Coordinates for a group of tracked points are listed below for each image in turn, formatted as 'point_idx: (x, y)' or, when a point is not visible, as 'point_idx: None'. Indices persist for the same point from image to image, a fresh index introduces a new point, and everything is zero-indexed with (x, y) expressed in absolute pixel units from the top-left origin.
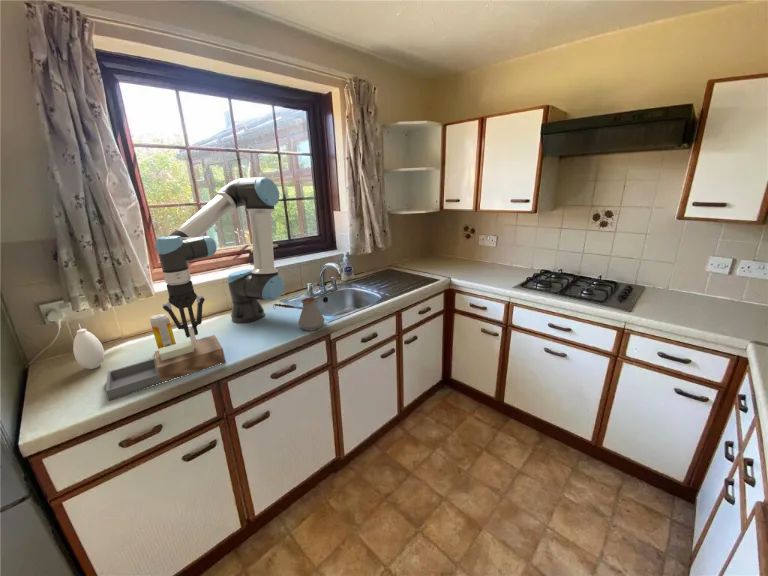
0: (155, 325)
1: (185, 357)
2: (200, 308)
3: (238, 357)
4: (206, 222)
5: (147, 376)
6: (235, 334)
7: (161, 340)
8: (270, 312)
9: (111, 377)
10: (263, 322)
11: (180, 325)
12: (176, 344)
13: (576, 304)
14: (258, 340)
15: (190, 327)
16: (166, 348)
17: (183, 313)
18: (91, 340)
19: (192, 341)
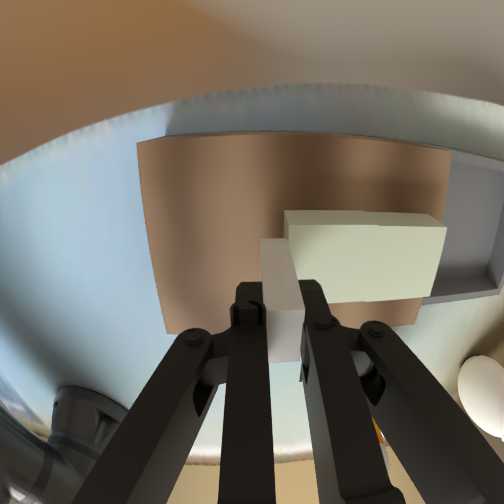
0: (381, 448)
1: (338, 161)
2: (112, 475)
3: (112, 152)
4: None
5: None
6: (120, 350)
7: None
8: (47, 395)
9: (495, 269)
10: (50, 361)
11: (375, 347)
12: (359, 294)
13: None
14: (45, 253)
15: (281, 339)
16: (407, 276)
17: (351, 469)
18: (499, 409)
19: (285, 250)
